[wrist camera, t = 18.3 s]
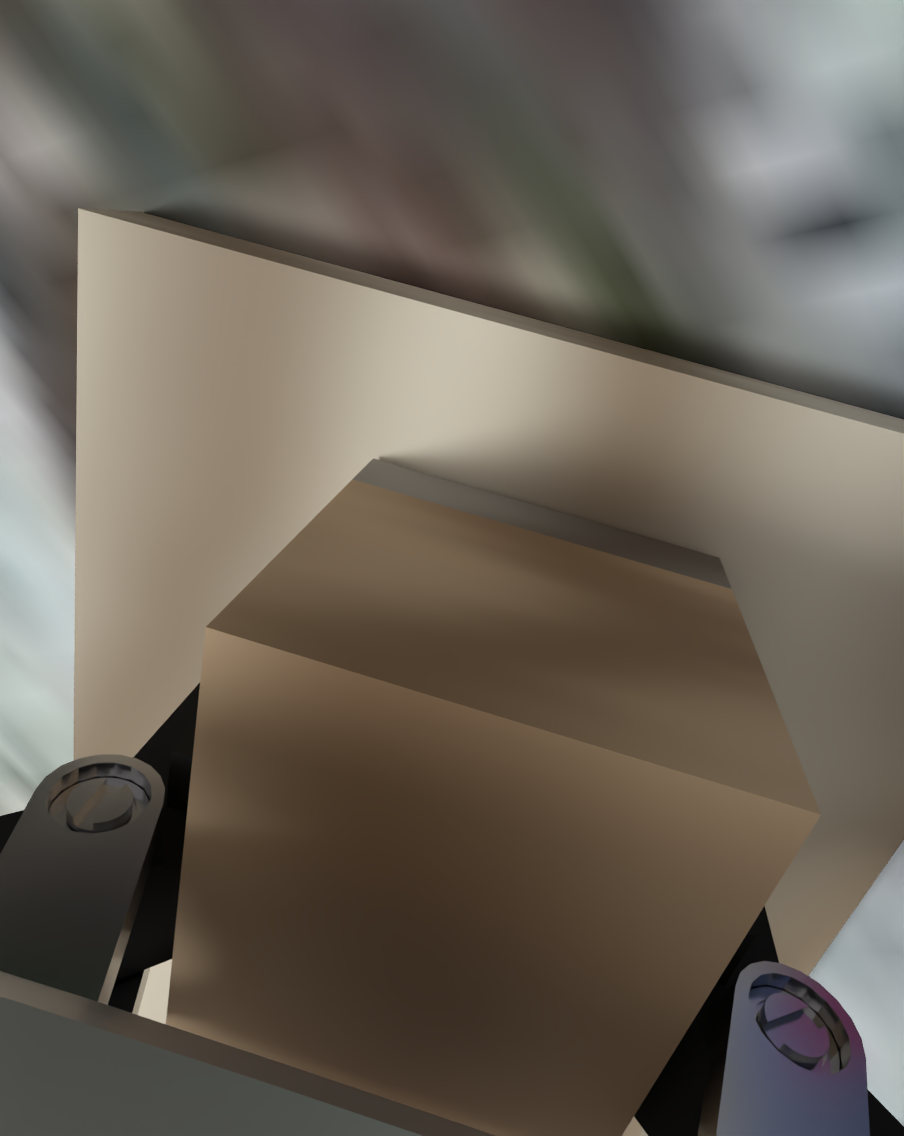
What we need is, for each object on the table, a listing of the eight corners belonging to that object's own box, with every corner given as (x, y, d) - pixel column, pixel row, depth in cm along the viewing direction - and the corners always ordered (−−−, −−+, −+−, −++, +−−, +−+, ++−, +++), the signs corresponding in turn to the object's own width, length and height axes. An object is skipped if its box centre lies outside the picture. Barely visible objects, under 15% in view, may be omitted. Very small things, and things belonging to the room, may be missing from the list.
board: (1070, 464, 10) (1142, 498, 9) (525, 1316, 23) (521, 1384, 21) (140, 211, 11) (78, 208, 10) (100, 1167, 23) (69, 1223, 22)
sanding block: (719, 557, 10) (821, 814, 6) (536, 971, 14) (509, 1316, 10) (373, 458, 10) (205, 626, 6) (288, 890, 14) (148, 1190, 10)
